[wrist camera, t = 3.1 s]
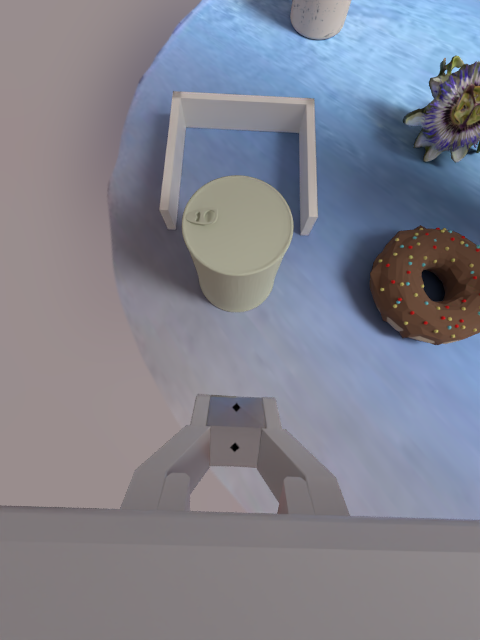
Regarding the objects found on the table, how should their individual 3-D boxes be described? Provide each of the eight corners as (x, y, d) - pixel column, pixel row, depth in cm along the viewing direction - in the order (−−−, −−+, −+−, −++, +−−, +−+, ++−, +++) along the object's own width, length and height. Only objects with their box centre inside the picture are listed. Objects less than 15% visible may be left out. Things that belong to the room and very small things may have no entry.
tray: (308, 235, 34) (317, 217, 30) (167, 229, 34) (159, 209, 30) (305, 127, 38) (314, 98, 34) (179, 121, 38) (173, 91, 34)
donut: (473, 253, 34) (512, 232, 29) (470, 357, 31) (514, 353, 26) (364, 230, 35) (385, 206, 30) (351, 331, 32) (372, 322, 27)
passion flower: (403, 185, 42) (395, 129, 33) (419, 121, 43) (416, 47, 33) (499, 175, 36) (525, 101, 26) (517, 99, 36) (549, -2, 26)
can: (204, 238, 34) (188, 164, 22) (276, 246, 34) (298, 175, 22) (194, 308, 32) (170, 266, 20) (270, 316, 32) (292, 280, 20)
